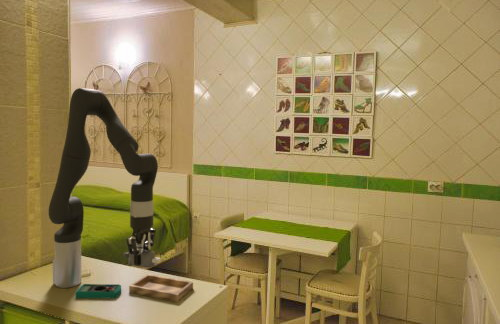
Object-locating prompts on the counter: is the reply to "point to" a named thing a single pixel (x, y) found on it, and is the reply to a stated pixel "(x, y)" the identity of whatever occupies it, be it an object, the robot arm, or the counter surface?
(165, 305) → the counter surface
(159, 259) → the gray bottle
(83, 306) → the counter surface
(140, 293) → the oak tray
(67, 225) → the robot arm
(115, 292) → the digital multimeter
